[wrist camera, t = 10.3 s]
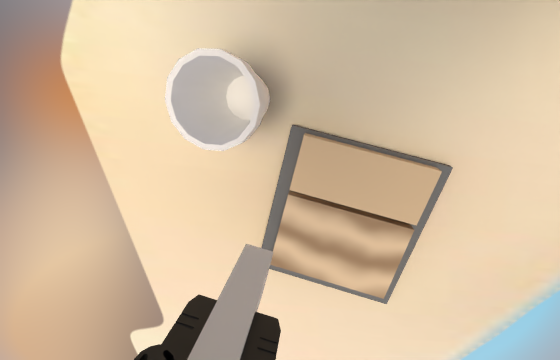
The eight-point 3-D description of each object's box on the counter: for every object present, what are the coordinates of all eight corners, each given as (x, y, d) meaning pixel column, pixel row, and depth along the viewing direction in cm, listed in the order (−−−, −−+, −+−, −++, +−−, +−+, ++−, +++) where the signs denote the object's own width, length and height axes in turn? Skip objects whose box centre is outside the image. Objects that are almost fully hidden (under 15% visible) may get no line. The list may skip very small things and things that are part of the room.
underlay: (292, 124, 38) (290, 127, 35) (449, 165, 36) (459, 172, 33) (258, 261, 46) (254, 272, 43) (385, 299, 45) (389, 313, 42)
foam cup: (282, 63, 35) (260, 49, 23) (280, 133, 38) (259, 153, 26) (214, 61, 37) (159, 47, 25) (217, 129, 40) (169, 146, 28)
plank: (289, 190, 40) (288, 194, 38) (409, 223, 39) (414, 230, 37) (271, 257, 44) (269, 264, 42) (380, 290, 42) (383, 298, 40)
